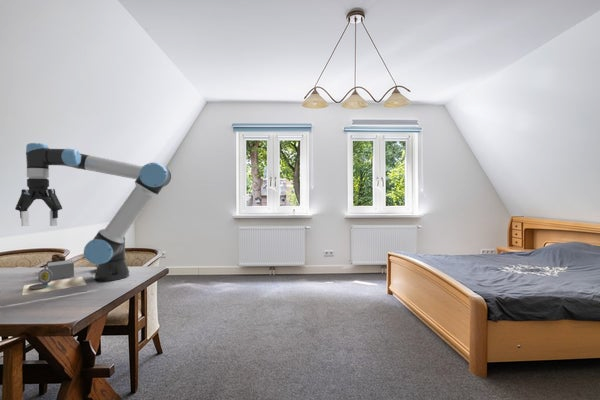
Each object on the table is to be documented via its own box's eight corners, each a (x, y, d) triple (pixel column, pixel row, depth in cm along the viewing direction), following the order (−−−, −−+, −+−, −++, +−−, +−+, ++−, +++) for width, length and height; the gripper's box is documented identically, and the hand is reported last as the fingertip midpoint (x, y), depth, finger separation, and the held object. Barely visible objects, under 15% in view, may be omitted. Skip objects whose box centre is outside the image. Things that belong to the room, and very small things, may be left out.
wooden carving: (42, 271, 170) (42, 253, 170) (52, 269, 175) (51, 252, 174) (61, 274, 164) (60, 255, 164) (70, 272, 168) (70, 254, 168)
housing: (72, 274, 162) (72, 259, 162) (74, 278, 155) (73, 262, 155) (48, 278, 156) (47, 262, 156) (48, 282, 148) (48, 266, 148)
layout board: (82, 278, 155) (82, 276, 155) (86, 286, 140) (86, 284, 140) (23, 287, 140) (23, 285, 140) (22, 297, 126) (22, 295, 126)
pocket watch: (26, 291, 131) (26, 267, 131) (32, 286, 139) (31, 264, 138) (50, 288, 135) (50, 265, 135) (54, 283, 143) (54, 262, 142)
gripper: (71, 178, 139) (72, 224, 139) (20, 179, 141) (21, 225, 141) (56, 177, 131) (58, 226, 132) (3, 178, 133) (4, 226, 134)
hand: (39, 225), depth 136 cm, fingers open, 13 cm apart
